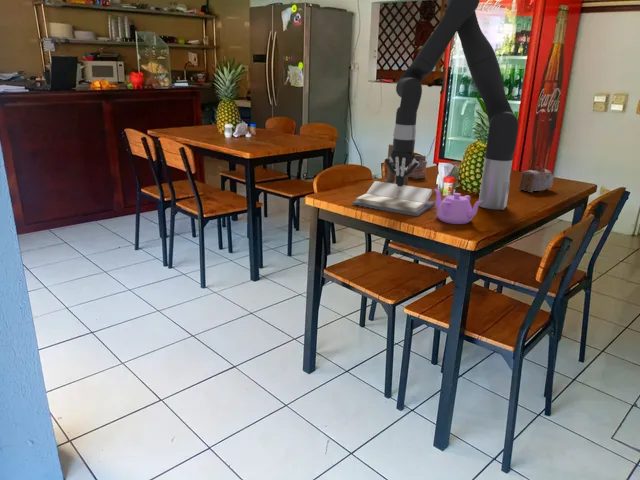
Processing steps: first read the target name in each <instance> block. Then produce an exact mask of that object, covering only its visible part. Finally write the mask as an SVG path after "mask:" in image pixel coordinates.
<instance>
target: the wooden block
mask: <svg viewBox="0 0 640 480" xmlns="http://www.w3.org/2000/svg"><path fill="white" fill-rule="evenodd" d="M392 151H393V143H389V144H388V151H387V158H389V157H390V156H391V153H392ZM392 160H393V159H392ZM393 164H394V166H395V168H396V165H395V163H394V161H393ZM386 165H387V164H386ZM409 166H410V164H409ZM409 166H408V168H407V171H408V170H409ZM385 175H386V179H384V180H383V182H385V183H392V184H396V177H397V176H396V174H394V173H392V172H391V170H390V169H389V167H388V165H387V166H386V174H385ZM408 176H409V175H406V176H405V184H404V185H406V186H409V184H408V183H409V178H408Z"/></svg>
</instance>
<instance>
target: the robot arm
mask: <svg viewBox="0 0 640 480" xmlns="http://www.w3.org/2000/svg"><path fill="white" fill-rule="evenodd" d="M479 3H480V0H447V3H446V11H445V13H444V15H443V17H442V18H441V19H440V21H439V23H438V25H437V26H436V28H435V29H434V30H433V32H432V33H431V34H430V35H429V37H428V39H427V40H426V42H424V44H423V46H422V47H421V48H420V50H419V52H418V53H417V55H416V57H415V58H414V60H413V62H412V63H411V65H410V66H408V68H407V69H406V70H405V71H404V73H403V74H402V75H401V77H399V79H398V81H397V83H396V87H395V91H396V94H397V95H398V96H399V98H401V99H400V105H399V107H398V108H396V113H395V124H394V129H393V140H392V144H393V151H392V153H391V156H390V157H389V158H388V157H387V158H385V159H384V162H385V163H386V165H388V167H389V169H390V170H391V172H392V173H394V174H396V176H397V177H395V181H396V184H397V186H400V187H402V186H403V185H404V184H405V176H406V175H409V174H411V173H412V172H413V171H414V170H415V169H416V168H417V167H418V166H419V164H420V162H417V161H416V160H415V156H416V155H415V153H414V152H415V145H416V144H415V143H416V133H417V129H416V128H417V126H416V125H417V115H418V109H419V106H420V103H421V100H422V99H421V98H422V94H423V86H422V81H423V80H424V78H426V77H428V76H429V75H430V74H431V73H432V72H433V70H434V69H435V67H436V65H437V64H438V62H439V61H440V60H441V58H442V56H443V54H444V52H445V51H446V49H447V47H448V46H449V44H450V43H451V41H452V39H453V38H454V37H455V35H456V33H457V35H458V38H459V40H460V44H461V48H462V51H463V54H464V58H465V61H466V64H467V67H468V70H469V73H470V76H471V79H472V82H473V83H474V85H475V88H476V90H477V92H478V94H479V95H480V97H481V99H482V101H483V104H484V107H485V111H486V114H487V120H488V125H489V127H488V134H487V140H486V147H485V152H484V153H485V155H484V160H483V161H484V162H483V169H482V177H481V181H480V188H479V189H480V191H479V196H478V197H479V198H478V201H483V202H481V203H480V204H479V206H478V207H481V208H483V209H488V210H501V211H502V210H504V209H506V207H507V204H508V198H509V197H508V196H509V191H510V187H511V186H510V185H511V180H510V178H511V173H512V167H513V166H512V164H513V159H514V154H515V151H516V147H517V139H518V134H519V126H520V123H519V120H518V118H517V116H516V114H515V113H514V111H513V108H512V107H511V105H510V103H509V100H508V97H507V95H506V92H505V86H504V81H503V75H502V71H501V67H500V64H499V61H498V57H497V55H496V53H495V52H496V51H495V50H494V48H493V46H492V44H491V43H490V42H489V39H488V38H487V37H486V36H485V34H484V33H483V30H482V29H481V27H480V24H479V21H478V17H477V13H476V10H477V8H478V6H479ZM392 159H393V160H392ZM393 161H394V163H395V165H396V168H395V166H394V164H393ZM411 162H412V167H411V168H410V169H409V170H408V171H407V168H408V166H409V164H410V163H411Z"/></svg>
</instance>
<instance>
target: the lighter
mask: <svg viewBox="0 0 640 480" xmlns="http://www.w3.org/2000/svg"><path fill="white" fill-rule="evenodd" d="M414 156H415V158H414V159H415V160H416V161H417V162H420V164H419V166H418V167H417V168H416V169H415V170H414V171H413V172H412V173H411V174H409V176H408V177H416V178H415V179H418V178H425V177H426V171H427V163H428V161H427V160H426V158H427V155H418V154H416V155H414ZM411 167H412V162H411V163H410V166H409V169H410V168H411ZM425 179H426V178H425Z"/></svg>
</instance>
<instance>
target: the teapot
mask: <svg viewBox="0 0 640 480" xmlns="http://www.w3.org/2000/svg"><path fill="white" fill-rule="evenodd" d="M433 190H434V192H435V193H436V198H435V208H436V217H437V218H438V219H439V221H441V222H444V223H447V224H451V225H465V224H468V223H470V222H471V221H472V220H473V218H474V217H475V216H476V215H477V213H478V209H479V207H480V206H479V204H480V203H481V202H483V201H479V200H477V201H475V202H474V205H473V207H472V204H471V202H470V201H471V196H470V195H468V194H467V195H464V196H463V195H462V193H458V192H455V193H453V194H452V195H450V194H449V195H446V196H445V197H444V198H443V200H442V195H441V192H440V190H438V189H437V188H434V189H433ZM461 195H462V196H461Z"/></svg>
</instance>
